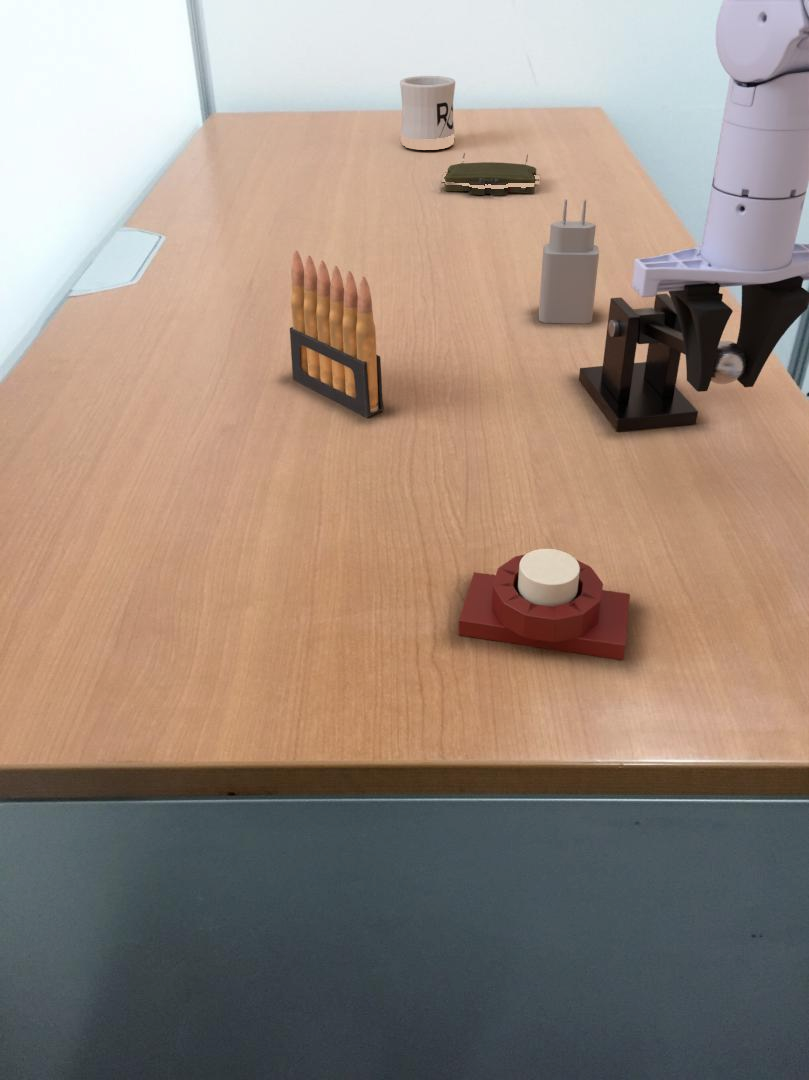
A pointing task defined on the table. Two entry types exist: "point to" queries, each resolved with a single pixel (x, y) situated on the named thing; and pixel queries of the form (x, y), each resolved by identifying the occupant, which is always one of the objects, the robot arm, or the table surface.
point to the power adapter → (569, 272)
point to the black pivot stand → (638, 374)
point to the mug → (427, 107)
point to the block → (546, 614)
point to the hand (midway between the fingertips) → (720, 383)
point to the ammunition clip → (334, 337)
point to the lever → (654, 331)
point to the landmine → (490, 177)
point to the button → (548, 577)
